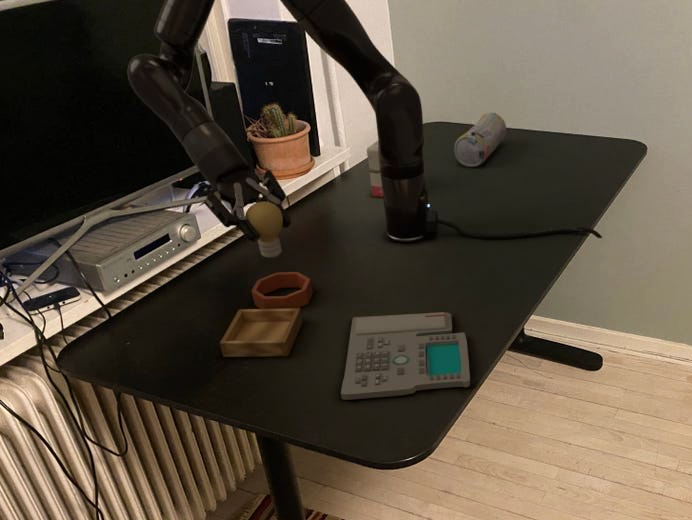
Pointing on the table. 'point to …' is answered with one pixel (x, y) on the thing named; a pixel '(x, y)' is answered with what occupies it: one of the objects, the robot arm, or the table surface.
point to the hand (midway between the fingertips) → (272, 232)
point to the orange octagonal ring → (282, 281)
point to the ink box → (374, 169)
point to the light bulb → (266, 227)
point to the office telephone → (404, 355)
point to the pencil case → (480, 140)
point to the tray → (261, 332)
